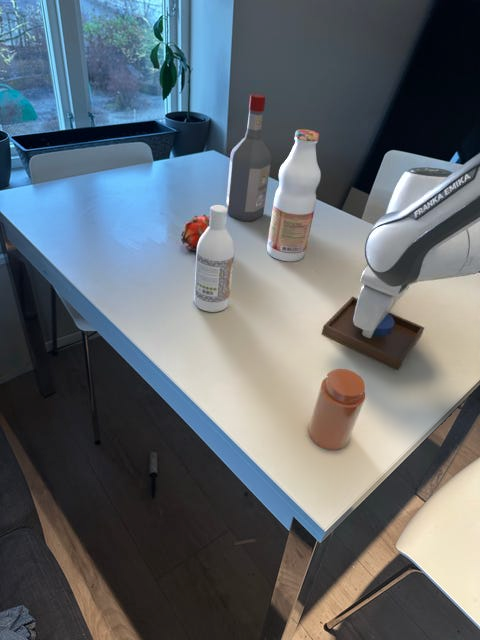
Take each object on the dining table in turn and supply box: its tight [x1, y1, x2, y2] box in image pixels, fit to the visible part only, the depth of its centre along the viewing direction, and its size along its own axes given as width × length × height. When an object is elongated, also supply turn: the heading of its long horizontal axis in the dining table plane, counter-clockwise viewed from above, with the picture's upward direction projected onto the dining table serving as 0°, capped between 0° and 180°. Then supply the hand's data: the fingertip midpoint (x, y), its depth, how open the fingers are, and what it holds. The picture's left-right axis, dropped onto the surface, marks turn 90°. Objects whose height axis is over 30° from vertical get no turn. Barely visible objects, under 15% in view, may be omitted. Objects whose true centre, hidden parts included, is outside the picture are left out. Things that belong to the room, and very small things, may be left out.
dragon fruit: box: [180, 213, 210, 251], centre depth 104 cm, size 8×8×12 cm
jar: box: [307, 368, 366, 451], centre depth 62 cm, size 6×6×11 cm
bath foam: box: [193, 204, 235, 313], centre depth 83 cm, size 7×7×20 cm
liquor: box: [225, 93, 272, 222], centre depth 115 cm, size 9×9×30 cm
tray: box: [321, 296, 425, 372], centre depth 85 cm, size 15×13×2 cm
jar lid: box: [361, 314, 394, 337], centre depth 84 cm, size 6×6×2 cm
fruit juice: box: [266, 129, 322, 262], centre depth 100 cm, size 9×9×28 cm
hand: (375, 325), depth 84 cm, fingers closed on jar lid, 6 cm apart
